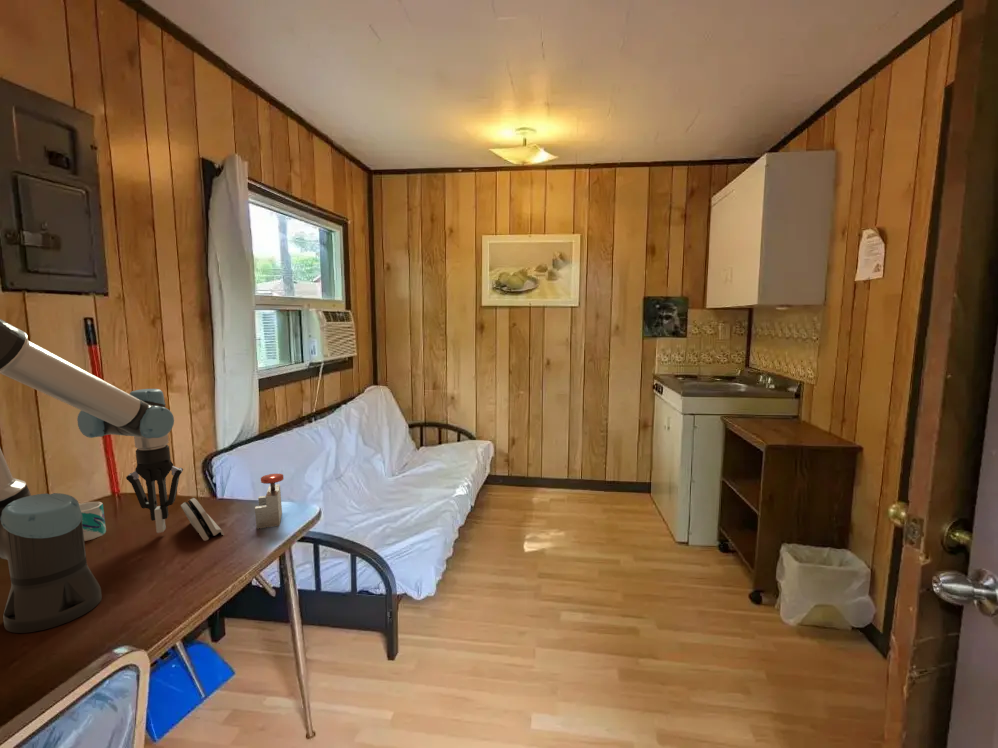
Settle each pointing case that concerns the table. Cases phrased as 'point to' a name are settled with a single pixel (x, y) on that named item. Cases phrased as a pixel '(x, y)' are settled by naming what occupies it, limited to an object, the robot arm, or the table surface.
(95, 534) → the mug
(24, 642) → the table surface
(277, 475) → the valve body
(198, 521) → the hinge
